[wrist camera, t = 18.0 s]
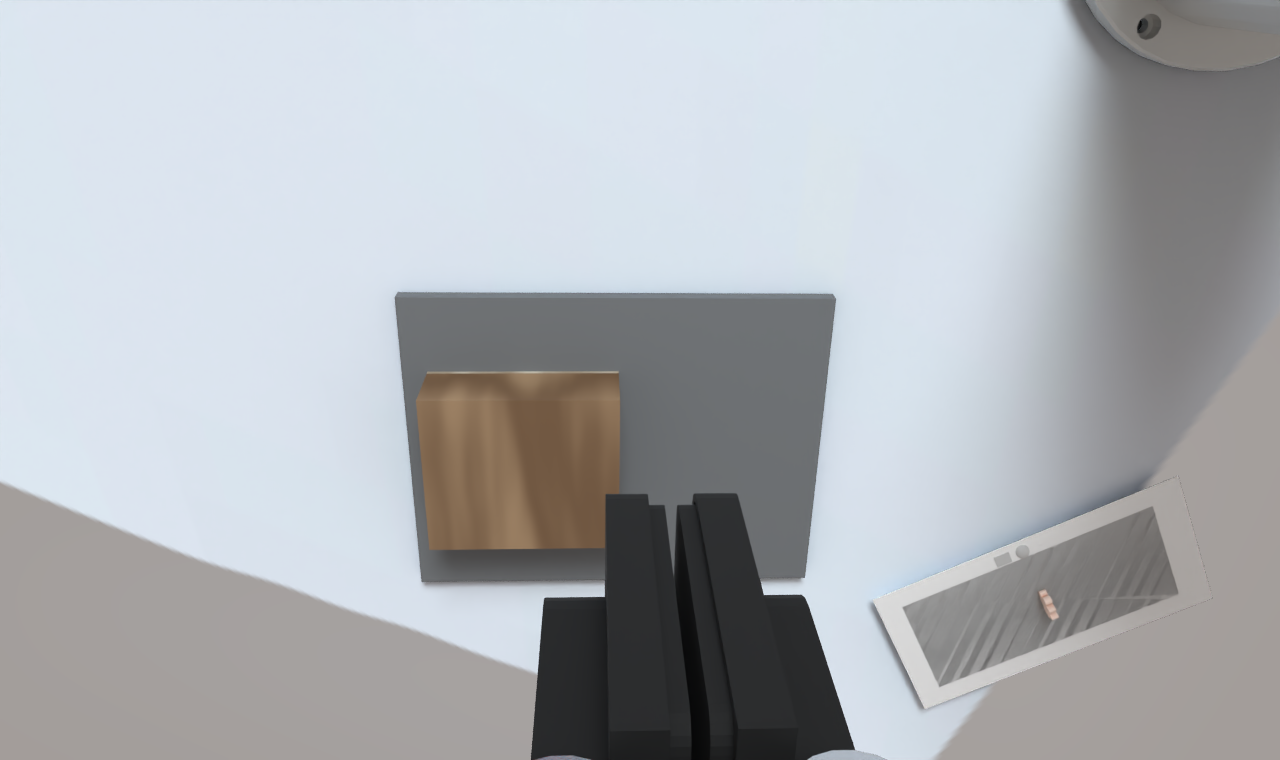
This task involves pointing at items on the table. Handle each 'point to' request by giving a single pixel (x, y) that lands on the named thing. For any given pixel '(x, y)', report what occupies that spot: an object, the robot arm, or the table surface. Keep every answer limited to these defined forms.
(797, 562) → the mat
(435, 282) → the table surface
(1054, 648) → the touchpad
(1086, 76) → the table surface
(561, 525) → the brown wooden block
